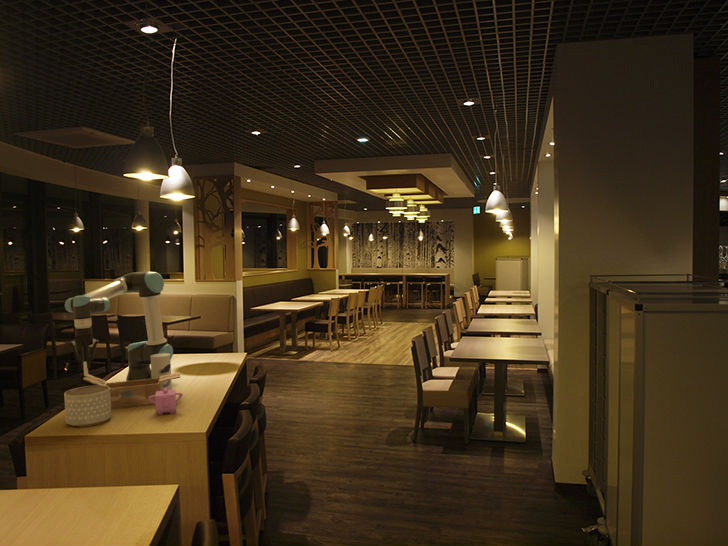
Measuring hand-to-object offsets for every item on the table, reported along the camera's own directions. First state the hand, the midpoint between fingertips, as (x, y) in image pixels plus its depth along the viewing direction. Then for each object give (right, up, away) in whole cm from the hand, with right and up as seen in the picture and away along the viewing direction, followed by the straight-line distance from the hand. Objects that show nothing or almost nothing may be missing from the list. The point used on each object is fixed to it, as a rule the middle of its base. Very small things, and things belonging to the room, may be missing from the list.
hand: (86, 375), depth 284 cm
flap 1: (+8, -5, +3) cm, 10 cm away
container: (+27, -14, +29) cm, 42 cm away
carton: (+21, -15, +7) cm, 27 cm away
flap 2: (+32, -4, +10) cm, 34 cm away
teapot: (+43, -16, -12) cm, 48 cm away
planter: (+12, -17, -23) cm, 31 cm away
